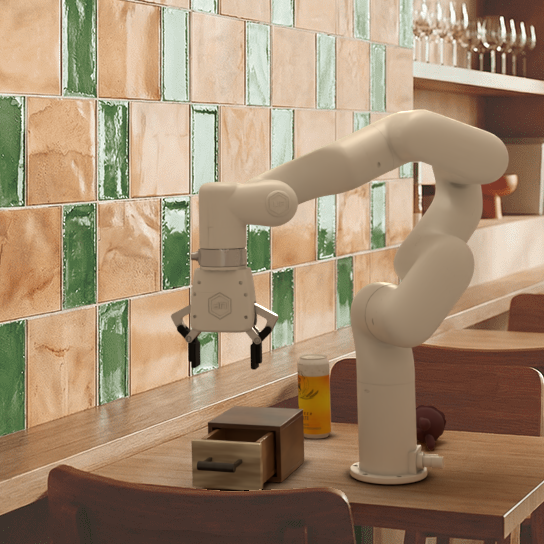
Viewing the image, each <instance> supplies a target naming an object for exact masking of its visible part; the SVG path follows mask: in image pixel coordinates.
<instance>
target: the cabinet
mask: <svg viewBox="0 0 544 544" xmlns="http://www.w3.org/2000/svg"><path fill="white" fill-rule="evenodd" d="M217 428H233V429H251V430H268V431H276V461H277V472H276V473H275V474H274V475H273V476H271V477H270V478H269V479H268V480H267V481H266V482H268V483H270V482H272V483H283V482H284V481H285V480H286V479H287V478H288V477H289V476H290V475H292V473H294V472H295V471H296V470H297V469H298V468H299V467H300V466H301V465H302V464H303V463H305V439H304V438H305V437H304V429H303V409H299V408H289V407H287V408H285V407H270V406H269V407H267V406H248V405H247V406H246V405H233V406H232V407H230V408H229V409H227V410H225V411H223V412H222V413H220V414H219V415H218V416H215V417H214V418H213V419H210V420H209V421H208V422H207V434H209V433H210V432H212V431H214V430H215V429H217Z"/></svg>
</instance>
